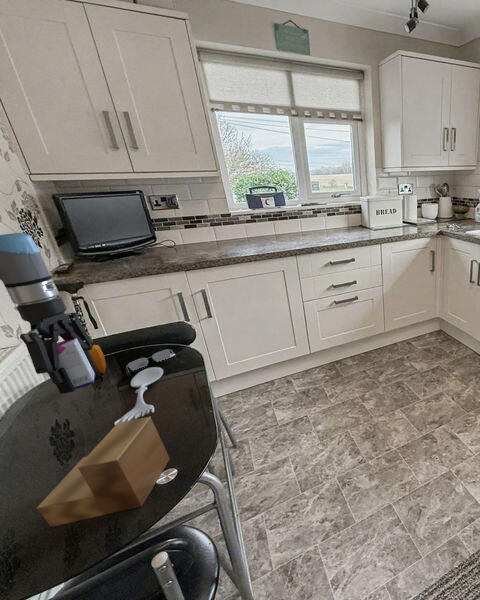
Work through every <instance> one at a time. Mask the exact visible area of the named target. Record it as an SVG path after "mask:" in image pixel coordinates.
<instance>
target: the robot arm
mask: <svg viewBox="0 0 480 600" xmlns="http://www.w3.org/2000/svg"><path fill="white" fill-rule="evenodd" d="M0 281H1V282H2V283H3V285H4V287H5V289H6V291H7V293H8V295H9V297H10V299H11V301H12V303H13V304H15V305H17V306H16V310H17V311H18V313H19V315H20V318H21V319H22V321H25V322H28V323H29V326H30V330H29V331H28V332H26V333H21V334H20V335H19V338H20V339H21V341H22V342H23V343H24V344H25V347H26V349H27V352H28V355H29V357H30V360H31V363H32V365H33V368H34V371H35V373H36V374H37V375H40V374H47V375H48V376H49V378H50V380H51V382H52V383H53V384H54V385H55V386H56V388H57V390H58V391H59V393H60V395H62V394H68V393H73V392H75V391H76V389H75V388H74V386H73V384H72V382H71V381H70V379H69V377H68V375H67V373H66V371H65V369H64V367H63V368H60V365H59V357H58V348H57V343H58V342H59V341H60V339H59V337H60V338H61V339H62V341H66V340H70V339H75V338H76V339H77V340H78V342H79V343H80V345H81V347H82V349H83V351H84V353H85V355H86V357H87V359H88V361H89V363H90V365H91V367H92V369H93V371H94V373H95V375H96V374H99V373H98V372H97V370H96V368H95V365H94V363H93V361H92V357H91V355H90V353H89V351H88V350H92V346H90V345H94V341H93V342H92V340H93V339H92V340H91V339H90V337H89V336H90V335H89V334H88V332H87V330H86V329H85V328H84V326H83V325H82V323H81V321H80V318H79V315H78V313H77V312H69V313H65V312H66V311H67V310H68V309H67V306H66V304H65V302H64V300H63V298H62V296H59V294H60V292H59V289H58V288H57V286H56V284H55V281H54V280H53V278H52V276H51V272H50V271H49V269H48V265H46V262H45V260H44V258H43V255H42V253H41V250H40V249H39V247H38V246H37V244H36V243H35V241H34V238H33V237H32V236H31V235H30V234H28V233H26V232H13V233H5V234H0ZM51 365H53V366H51Z"/></svg>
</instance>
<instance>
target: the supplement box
mask: <svg viewBox="0 0 480 600" xmlns="http://www.w3.org/2000/svg"><path fill="white" fill-rule="evenodd" d="M57 348H58V357H59V365H60V368H63V367H64V369H65V371H66V373H67V375H68V377H69V379H70V381H71V382H72V384H73V386H74V388H75V390H76V389H80V388H83V387H86V386H89V385H92V384H94V383H95V381H96V380H95V379H96V374H95V373H94V371H93V369H92V367H91V365H90V363H89V361H88V359H87V357H86V355H85V353H84V351H83V349H82V347H81V345H80V343H79V342H78V340H77V339H76V338H75V339H70V340H66V341H64V340H61V341H57ZM51 366H53V365H51Z"/></svg>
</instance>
